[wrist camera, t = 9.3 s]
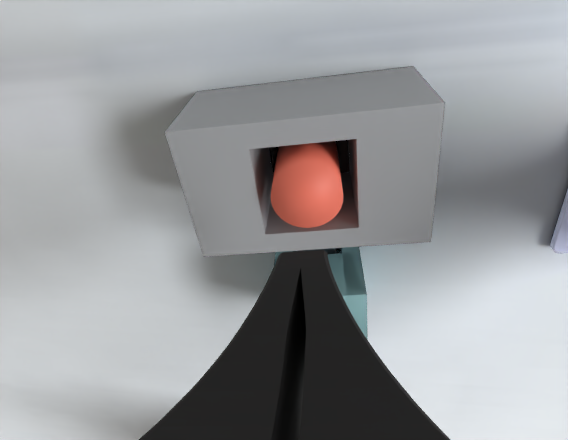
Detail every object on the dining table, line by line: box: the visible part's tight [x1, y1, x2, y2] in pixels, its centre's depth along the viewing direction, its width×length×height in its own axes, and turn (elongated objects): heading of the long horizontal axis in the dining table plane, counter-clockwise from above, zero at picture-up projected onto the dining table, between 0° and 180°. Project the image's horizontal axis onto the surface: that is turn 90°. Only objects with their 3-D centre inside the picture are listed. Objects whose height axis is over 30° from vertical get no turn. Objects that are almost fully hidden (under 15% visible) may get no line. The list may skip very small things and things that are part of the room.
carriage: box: [274, 247, 367, 339], centre depth 22 cm, size 4×6×5 cm
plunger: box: [271, 141, 343, 228], centre depth 17 cm, size 3×3×4 cm
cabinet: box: [165, 66, 445, 257], centre depth 18 cm, size 10×6×5 cm, turn 97°
